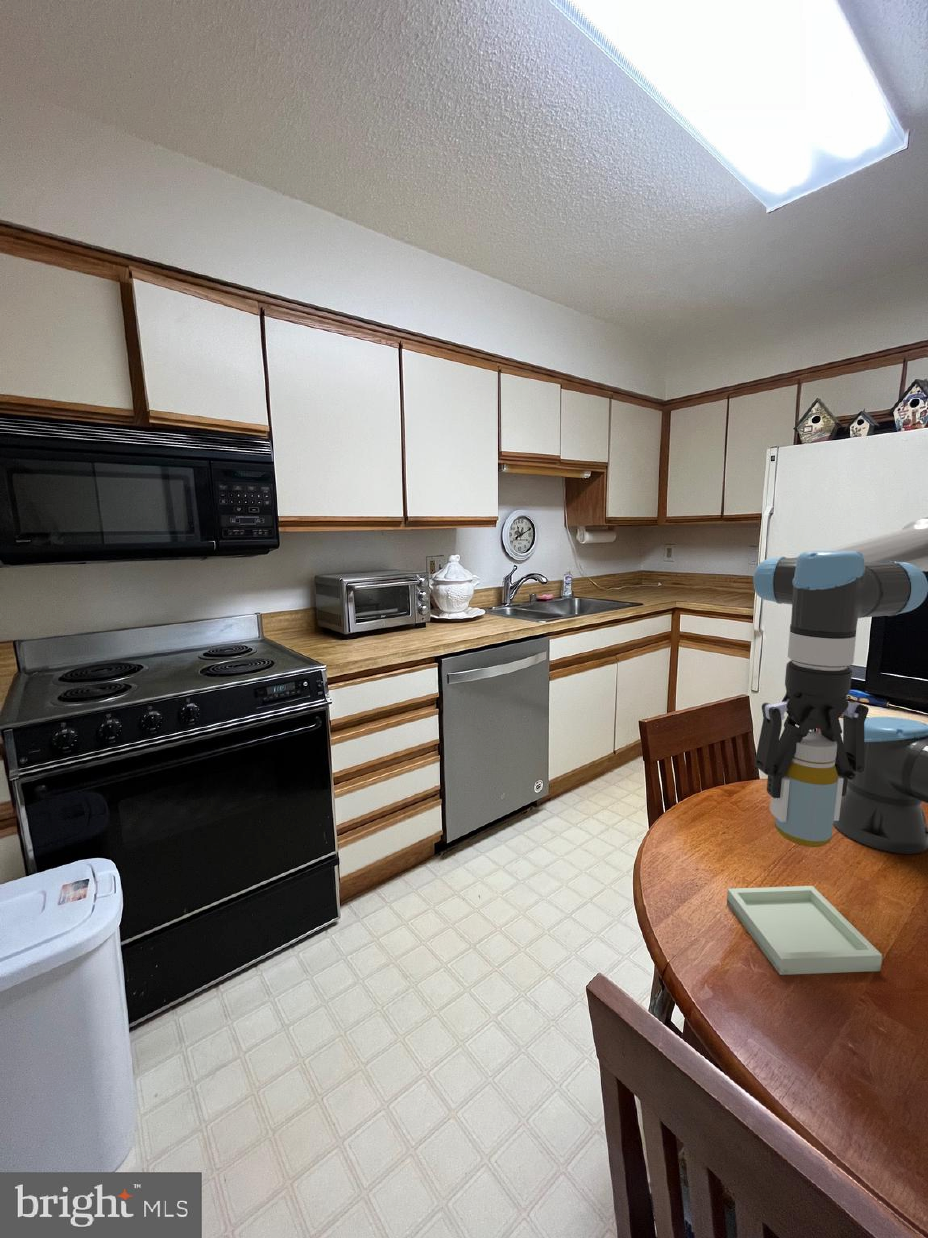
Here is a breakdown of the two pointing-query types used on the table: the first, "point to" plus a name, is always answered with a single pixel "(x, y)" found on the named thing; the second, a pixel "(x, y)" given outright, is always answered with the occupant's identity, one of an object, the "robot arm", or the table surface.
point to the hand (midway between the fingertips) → (803, 816)
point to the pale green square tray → (802, 931)
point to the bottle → (811, 792)
